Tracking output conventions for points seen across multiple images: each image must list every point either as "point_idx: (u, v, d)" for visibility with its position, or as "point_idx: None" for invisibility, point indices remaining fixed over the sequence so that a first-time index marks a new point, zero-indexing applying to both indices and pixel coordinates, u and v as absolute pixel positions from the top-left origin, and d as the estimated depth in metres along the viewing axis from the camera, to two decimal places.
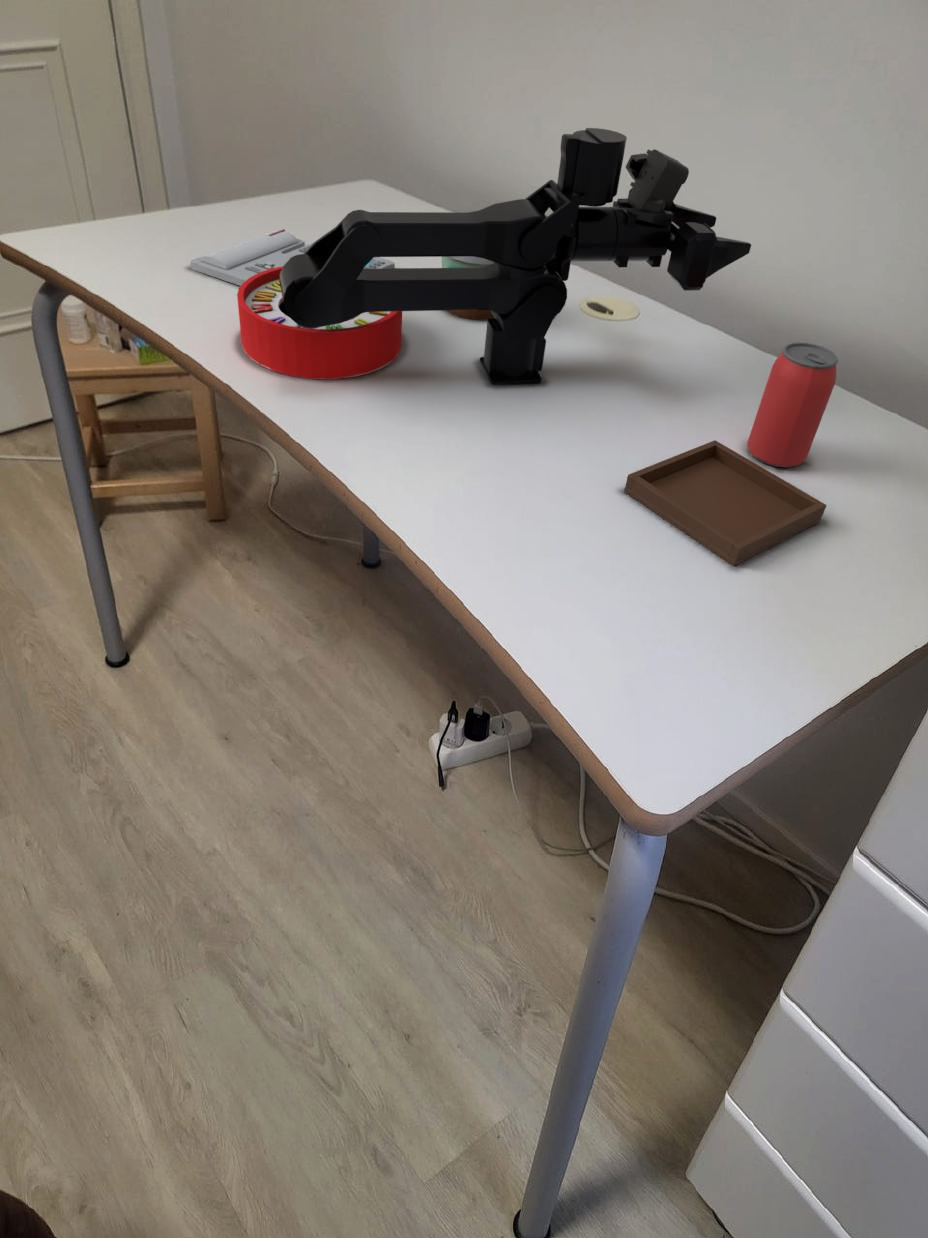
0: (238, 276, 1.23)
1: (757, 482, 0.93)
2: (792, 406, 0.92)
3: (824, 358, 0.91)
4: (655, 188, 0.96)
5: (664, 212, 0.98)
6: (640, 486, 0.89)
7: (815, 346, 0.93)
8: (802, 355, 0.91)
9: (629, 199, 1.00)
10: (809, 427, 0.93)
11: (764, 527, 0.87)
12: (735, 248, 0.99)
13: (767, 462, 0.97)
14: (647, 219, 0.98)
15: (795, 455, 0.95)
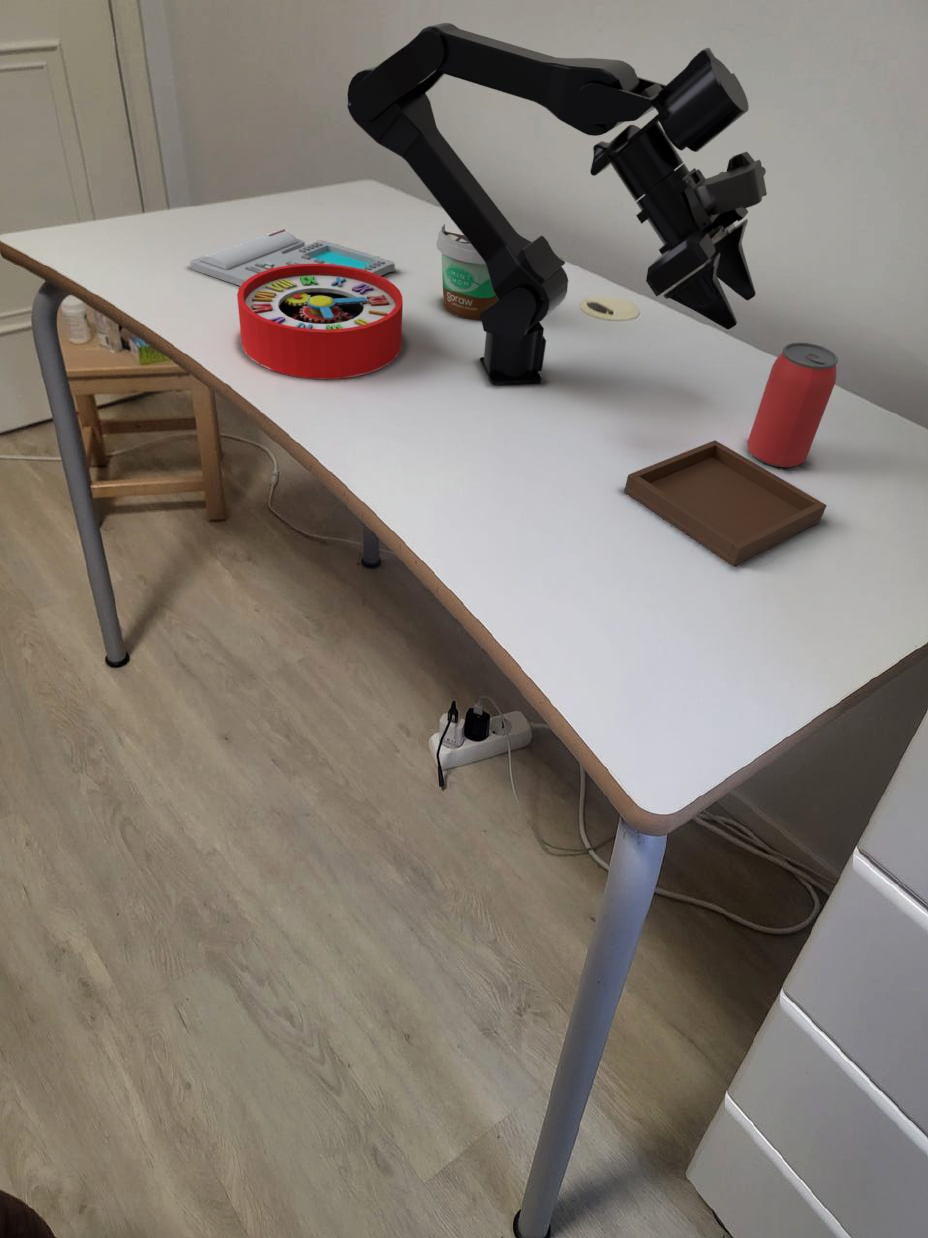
0: (238, 276, 1.23)
1: (757, 482, 0.93)
2: (792, 406, 0.92)
3: (824, 358, 0.91)
4: (720, 182, 0.85)
5: (708, 213, 0.87)
6: (640, 486, 0.89)
7: (815, 346, 0.93)
8: (802, 355, 0.91)
9: (704, 179, 0.89)
10: (809, 427, 0.93)
11: (764, 527, 0.87)
12: (720, 308, 0.88)
13: (767, 462, 0.97)
14: (691, 200, 0.86)
15: (795, 455, 0.95)
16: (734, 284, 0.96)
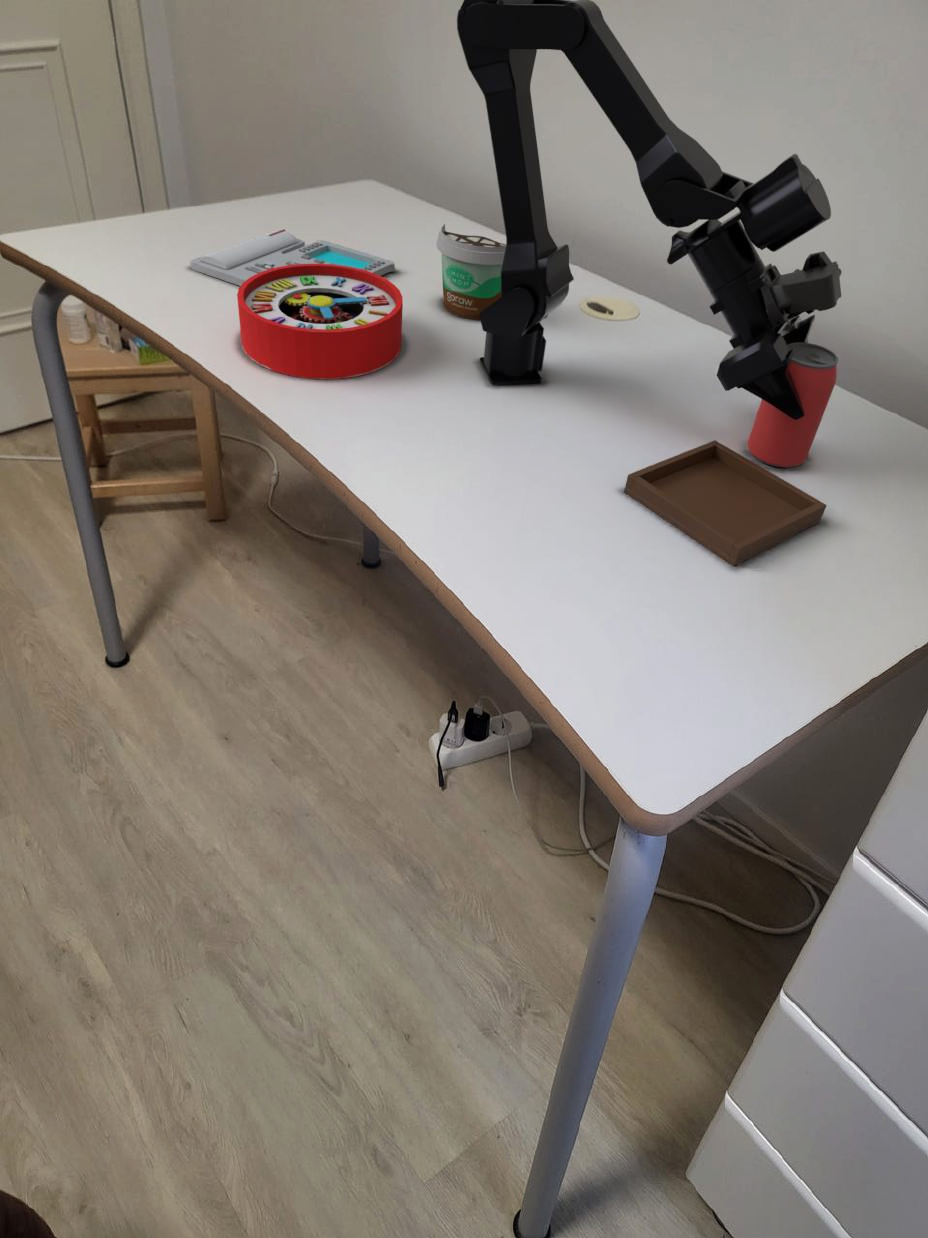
0: (238, 276, 1.23)
1: (757, 482, 0.93)
2: None
3: (824, 358, 0.91)
4: (797, 284, 0.86)
5: (782, 312, 0.88)
6: (640, 486, 0.89)
7: (815, 346, 0.93)
8: (802, 355, 0.91)
9: (779, 276, 0.90)
10: (809, 427, 0.93)
11: (764, 527, 0.87)
12: (790, 400, 0.90)
13: (767, 462, 0.97)
14: (766, 299, 0.88)
15: (795, 455, 0.95)
16: None
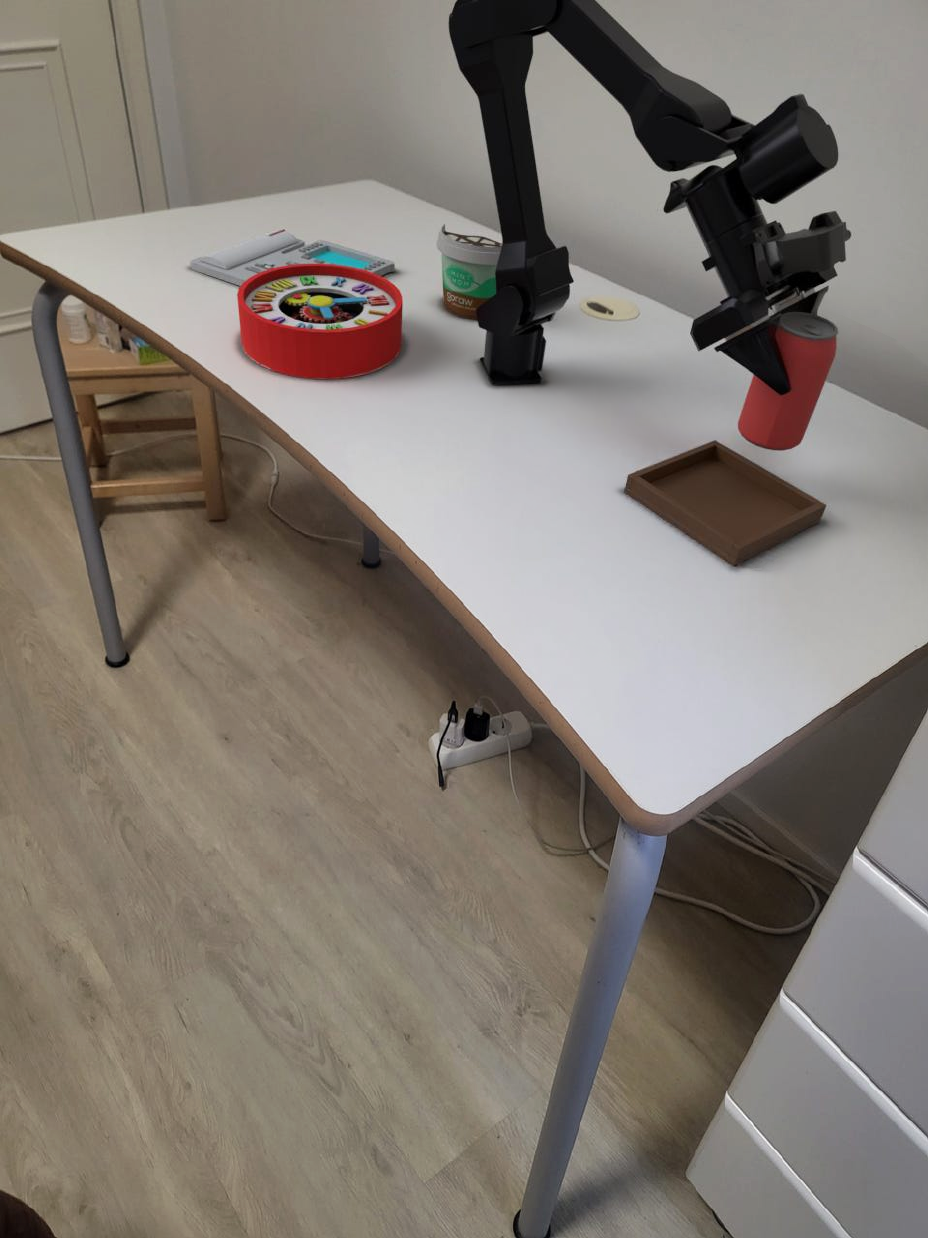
0: (238, 276, 1.23)
1: (757, 482, 0.93)
2: None
3: (823, 330, 0.82)
4: (790, 240, 0.78)
5: (773, 272, 0.80)
6: (640, 486, 0.89)
7: (819, 318, 0.84)
8: (798, 325, 0.83)
9: (782, 234, 0.82)
10: (798, 406, 0.84)
11: (764, 527, 0.87)
12: (774, 372, 0.82)
13: (752, 442, 0.88)
14: (757, 255, 0.80)
15: (783, 437, 0.87)
16: None
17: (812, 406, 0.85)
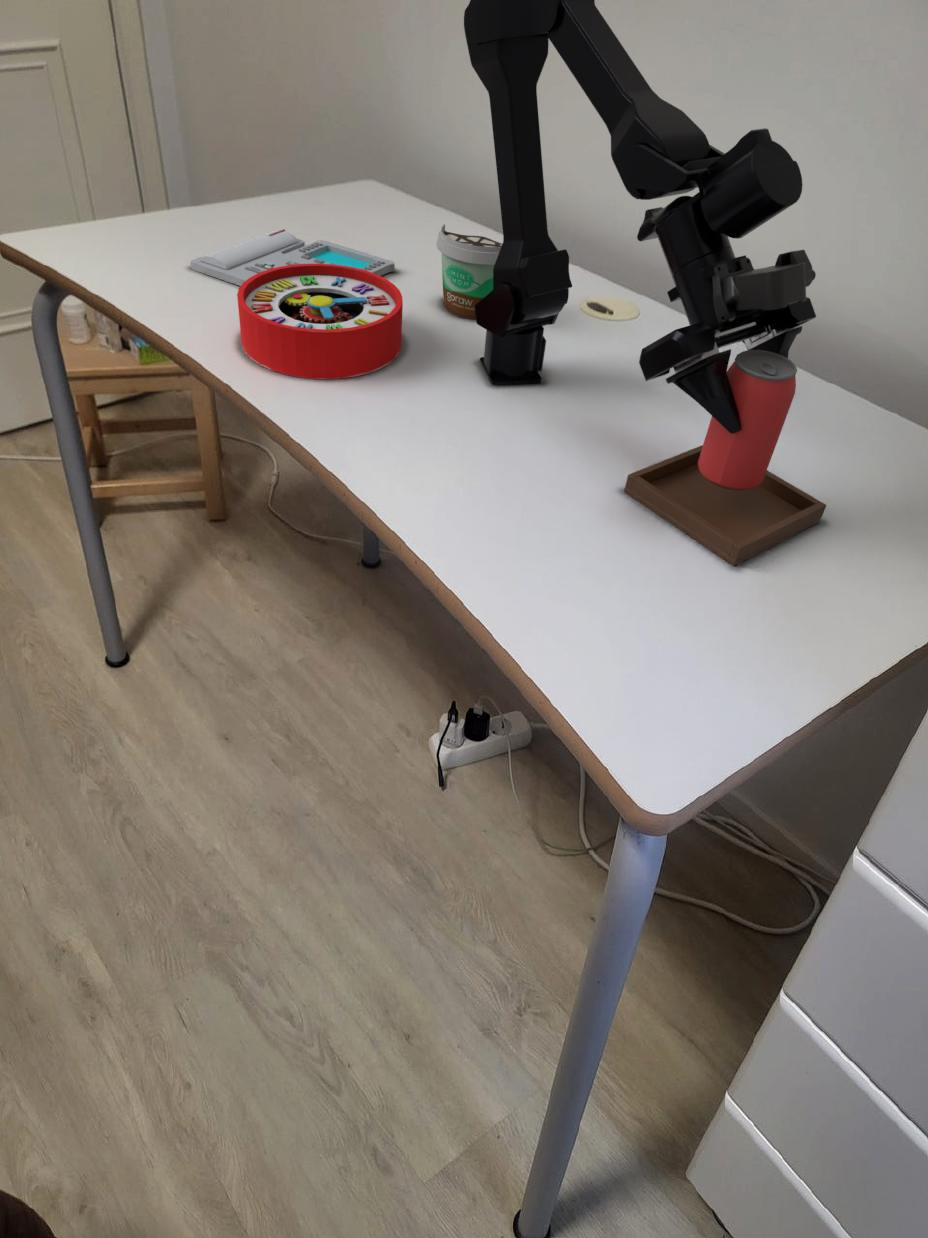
0: (238, 276, 1.23)
1: None
2: None
3: (781, 371, 0.80)
4: (744, 276, 0.76)
5: (729, 307, 0.78)
6: (640, 486, 0.89)
7: (783, 359, 0.81)
8: (756, 363, 0.80)
9: (749, 270, 0.80)
10: (751, 446, 0.82)
11: (764, 527, 0.87)
12: (724, 409, 0.80)
13: (707, 478, 0.86)
14: (715, 289, 0.78)
15: (736, 476, 0.84)
16: None
17: (768, 448, 0.83)
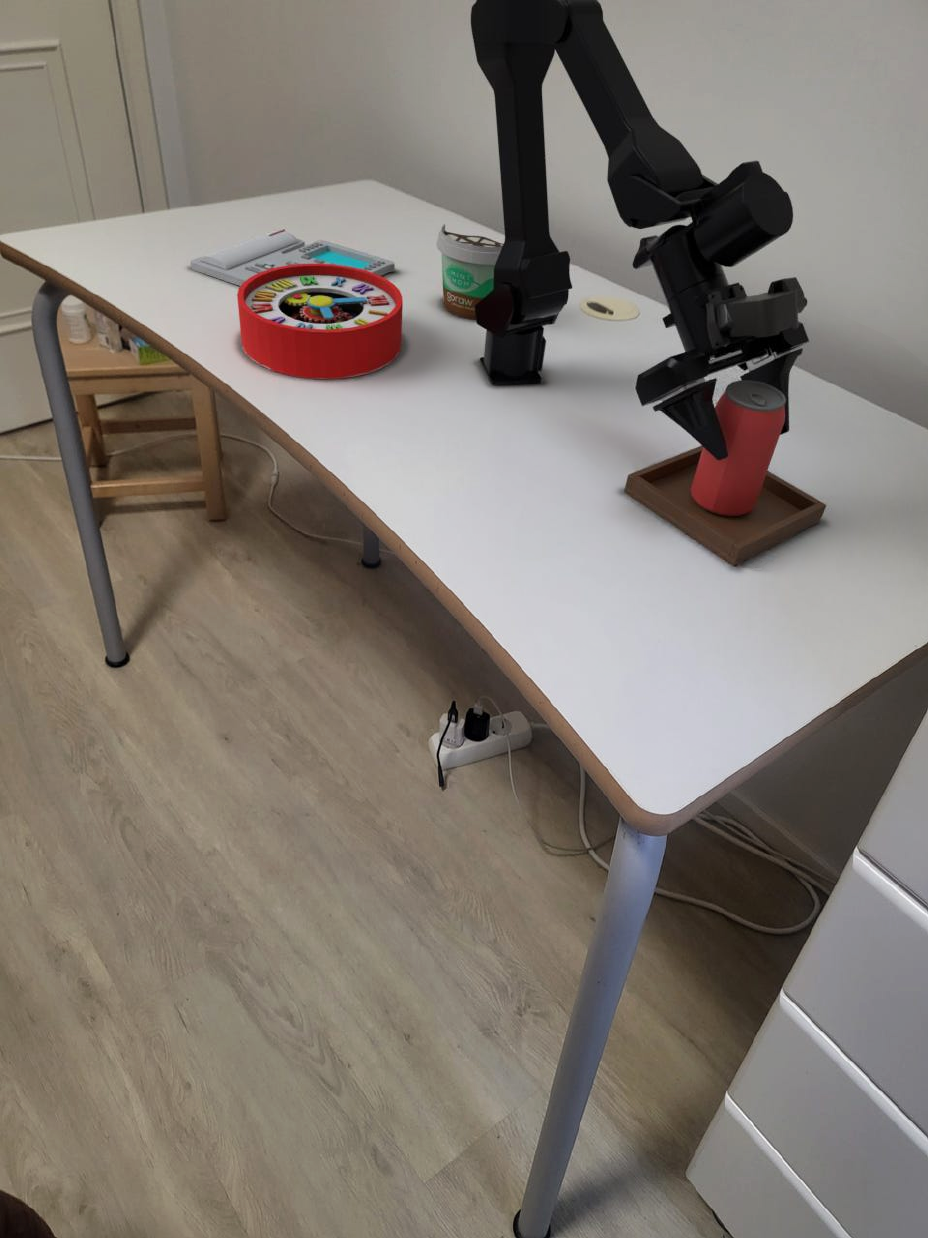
0: (238, 276, 1.23)
1: None
2: None
3: (770, 401, 0.82)
4: (737, 304, 0.77)
5: (723, 334, 0.80)
6: (640, 486, 0.89)
7: (772, 389, 0.83)
8: (746, 394, 0.82)
9: (742, 297, 0.81)
10: (742, 474, 0.84)
11: (764, 527, 0.87)
12: (710, 436, 0.81)
13: (700, 505, 0.88)
14: (708, 316, 0.80)
15: (728, 503, 0.86)
16: None
17: (759, 475, 0.85)
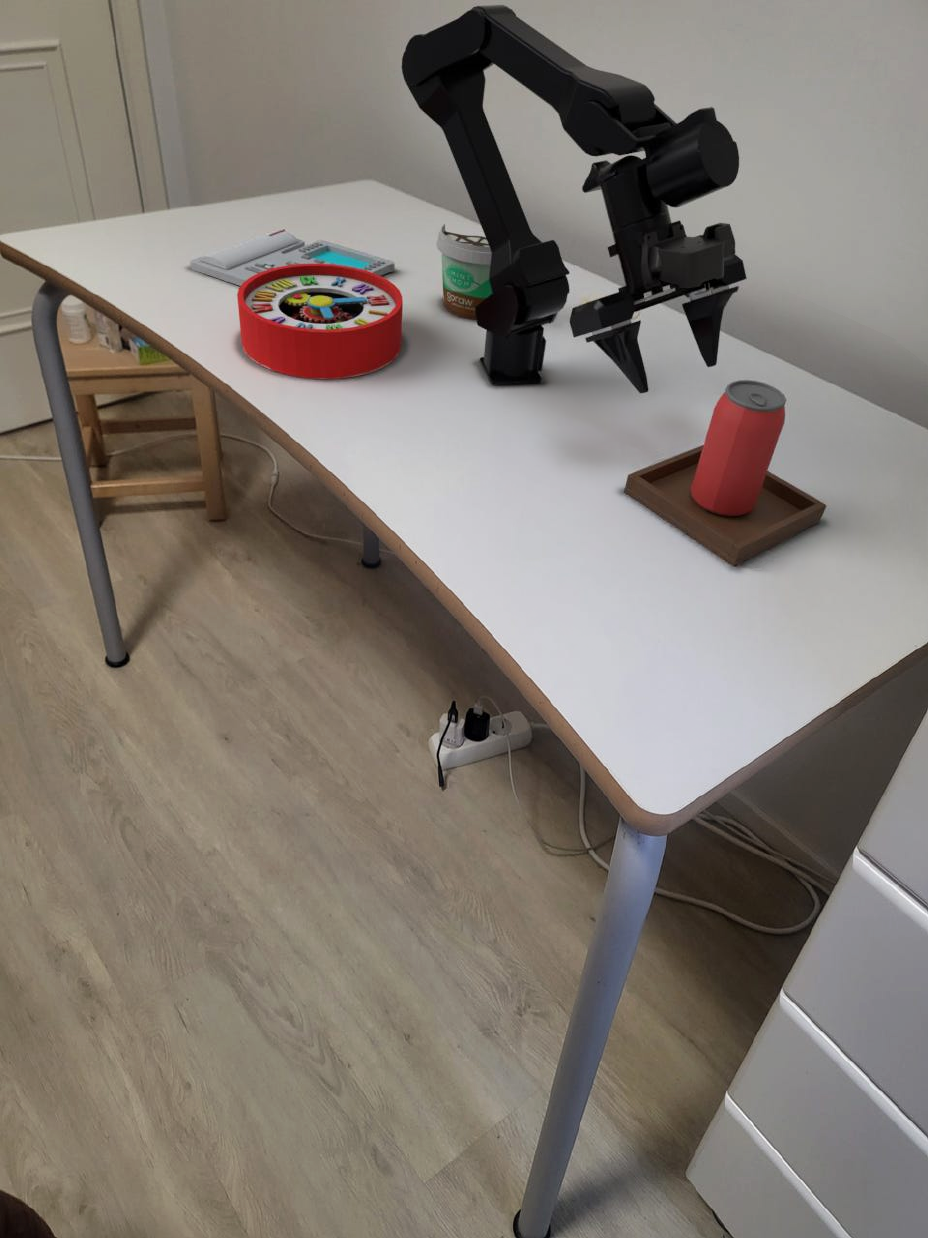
0: (238, 276, 1.23)
1: None
2: (723, 446, 0.83)
3: (770, 401, 0.82)
4: (666, 251, 0.82)
5: (654, 276, 0.85)
6: (640, 486, 0.89)
7: (772, 389, 0.83)
8: (746, 394, 0.82)
9: (680, 237, 0.85)
10: (742, 474, 0.84)
11: (764, 527, 0.87)
12: (633, 372, 0.88)
13: (700, 505, 0.88)
14: (643, 257, 0.85)
15: (728, 503, 0.86)
16: (701, 346, 0.93)
17: (759, 475, 0.85)
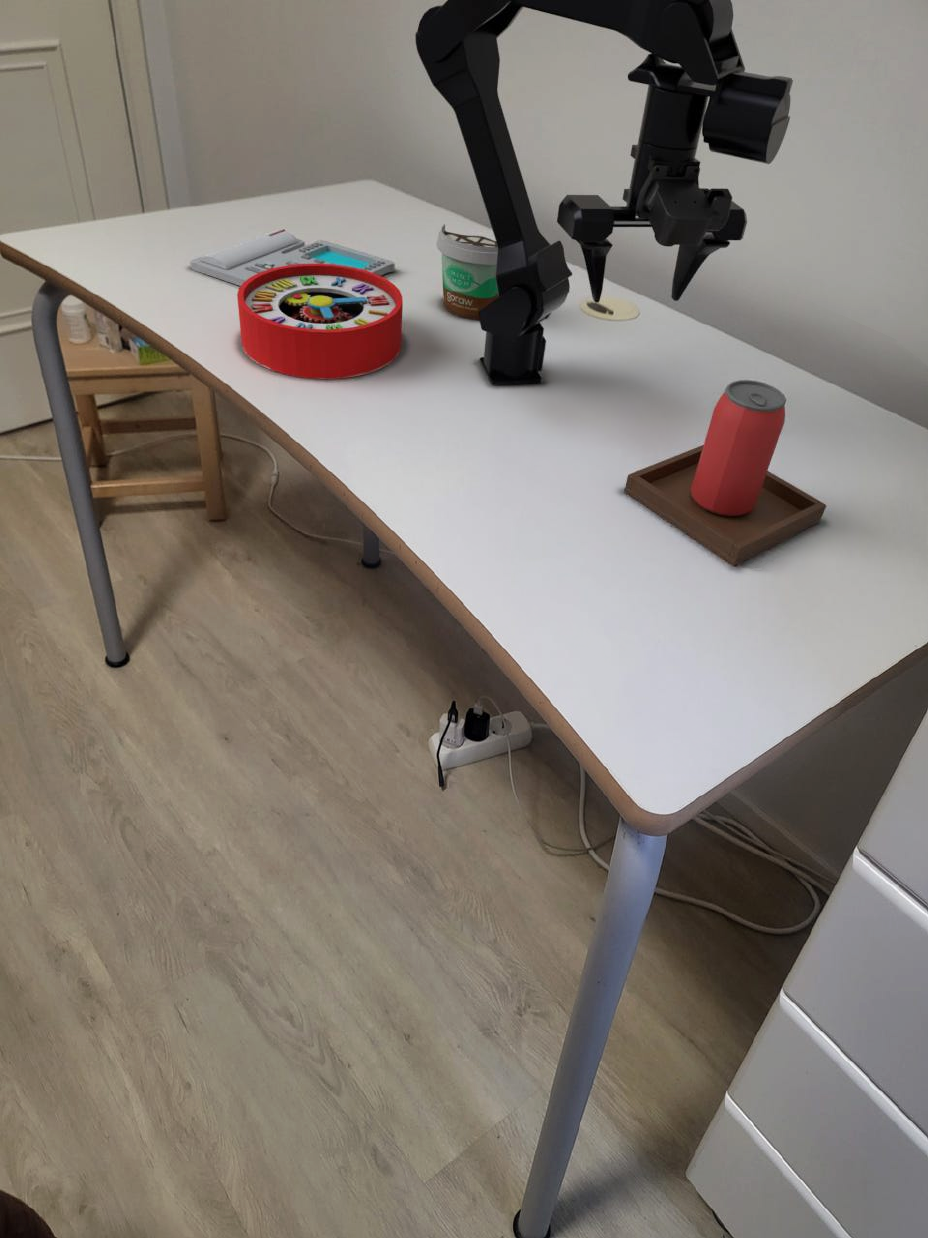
0: (238, 276, 1.23)
1: None
2: (723, 446, 0.83)
3: (770, 401, 0.82)
4: (659, 198, 0.83)
5: (645, 208, 0.86)
6: (640, 486, 0.89)
7: (772, 389, 0.83)
8: (746, 394, 0.82)
9: (690, 179, 0.85)
10: (742, 474, 0.84)
11: (764, 527, 0.87)
12: (592, 280, 0.93)
13: (700, 505, 0.88)
14: (645, 184, 0.85)
15: (728, 503, 0.86)
16: (675, 276, 0.96)
17: (759, 475, 0.85)
